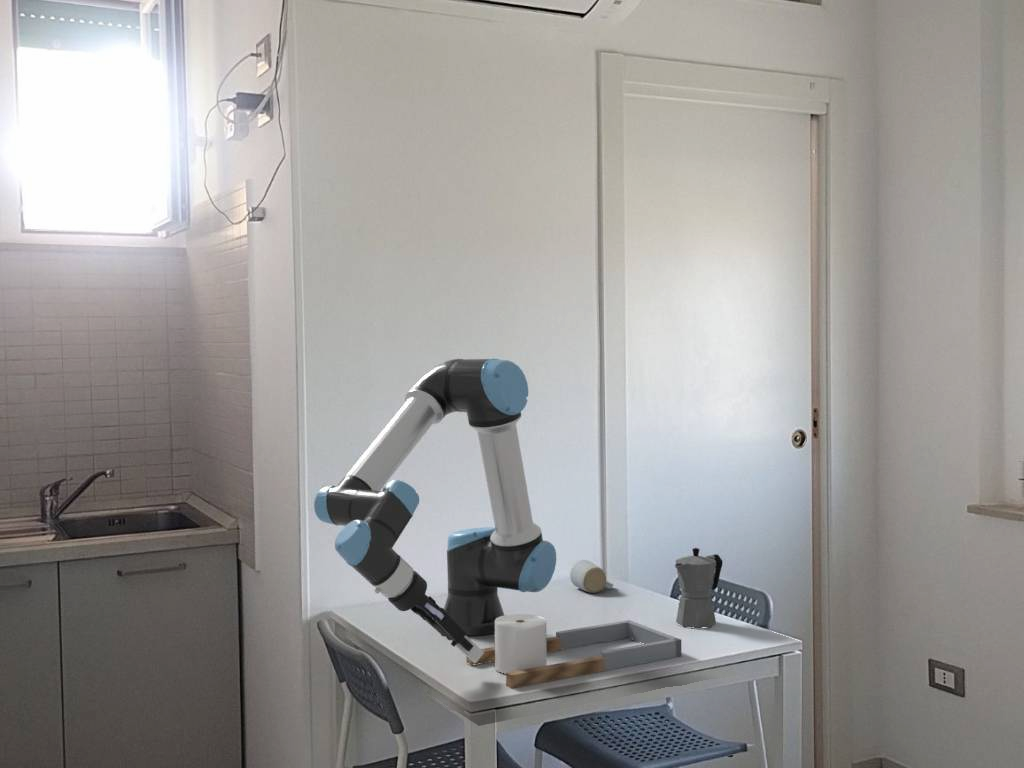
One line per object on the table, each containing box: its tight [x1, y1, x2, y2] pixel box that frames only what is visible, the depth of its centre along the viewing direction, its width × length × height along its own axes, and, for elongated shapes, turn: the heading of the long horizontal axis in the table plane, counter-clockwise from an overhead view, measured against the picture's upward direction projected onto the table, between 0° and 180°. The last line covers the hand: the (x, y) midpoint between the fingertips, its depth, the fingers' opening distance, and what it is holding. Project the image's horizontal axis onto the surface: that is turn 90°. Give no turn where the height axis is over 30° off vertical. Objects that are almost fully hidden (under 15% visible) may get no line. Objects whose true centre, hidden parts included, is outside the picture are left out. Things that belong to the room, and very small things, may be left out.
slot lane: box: [465, 636, 606, 689], centre depth 228 cm, size 22×19×2 cm
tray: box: [555, 619, 682, 671], centre depth 238 cm, size 20×19×4 cm
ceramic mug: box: [569, 559, 614, 594], centre depth 296 cm, size 11×8×8 cm
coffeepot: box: [674, 547, 723, 628], centre depth 261 cm, size 15×9×18 cm, turn 127°
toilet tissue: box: [494, 613, 548, 675], centre depth 227 cm, size 11×12×10 cm
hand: (478, 656), depth 222 cm, fingers closed
